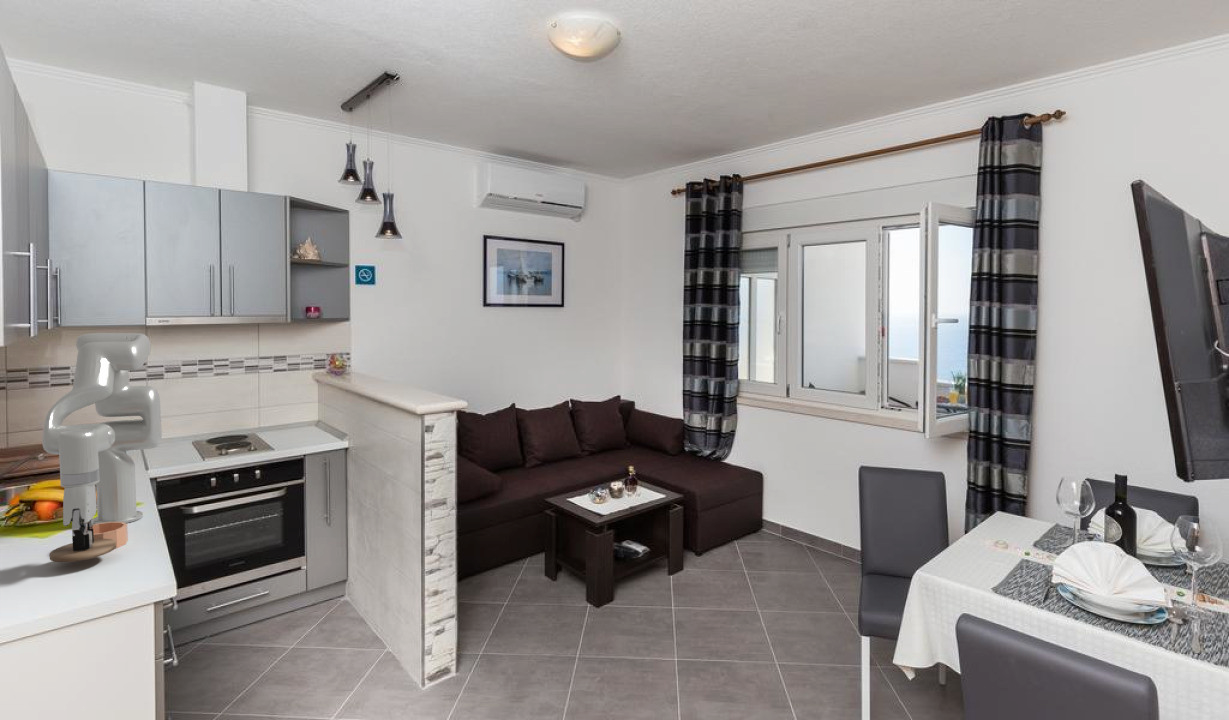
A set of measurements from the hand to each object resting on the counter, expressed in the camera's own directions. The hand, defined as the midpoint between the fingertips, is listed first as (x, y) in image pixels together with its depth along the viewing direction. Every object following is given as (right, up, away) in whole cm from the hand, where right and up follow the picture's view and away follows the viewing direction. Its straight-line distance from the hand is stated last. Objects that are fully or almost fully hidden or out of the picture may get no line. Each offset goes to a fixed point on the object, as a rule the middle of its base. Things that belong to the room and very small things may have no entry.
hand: (83, 546), depth 156 cm
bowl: (-6, -4, +12) cm, 14 cm away
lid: (0, -1, 0) cm, 1 cm away
